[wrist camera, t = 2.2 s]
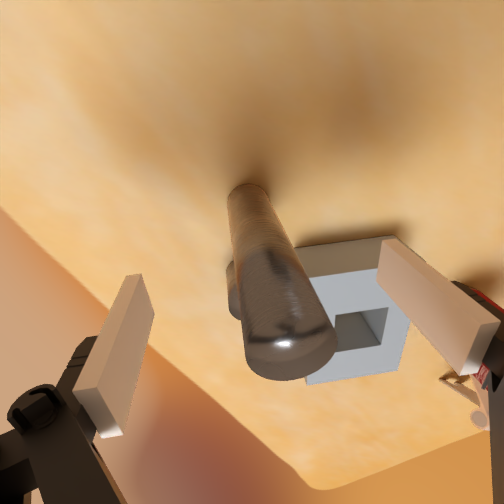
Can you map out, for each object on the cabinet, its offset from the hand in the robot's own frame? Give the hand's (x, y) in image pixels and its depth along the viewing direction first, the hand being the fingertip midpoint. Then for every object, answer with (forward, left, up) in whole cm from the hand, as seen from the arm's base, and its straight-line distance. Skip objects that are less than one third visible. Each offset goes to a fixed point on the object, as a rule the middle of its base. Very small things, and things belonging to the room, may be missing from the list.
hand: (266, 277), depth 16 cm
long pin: (0, 0, -11) cm, 11 cm away
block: (+12, +9, -11) cm, 18 cm away
